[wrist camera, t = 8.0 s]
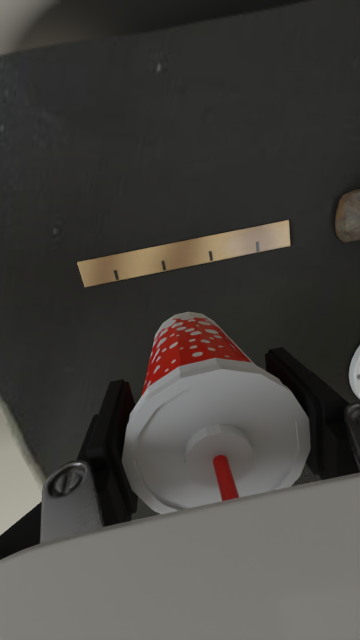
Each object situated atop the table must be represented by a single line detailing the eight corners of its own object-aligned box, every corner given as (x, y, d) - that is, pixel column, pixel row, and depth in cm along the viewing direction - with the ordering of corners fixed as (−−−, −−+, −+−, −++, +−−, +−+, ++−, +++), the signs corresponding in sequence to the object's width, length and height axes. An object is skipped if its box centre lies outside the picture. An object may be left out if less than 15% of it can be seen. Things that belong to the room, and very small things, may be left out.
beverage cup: (121, 348, 16) (-47, 820, 3) (187, 279, 15) (368, 525, 2) (189, 402, 18) (273, 867, 5) (253, 342, 17) (598, 717, 4)
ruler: (287, 220, 26) (289, 219, 26) (288, 245, 27) (290, 245, 27) (78, 262, 26) (76, 262, 26) (85, 286, 27) (84, 287, 26)
